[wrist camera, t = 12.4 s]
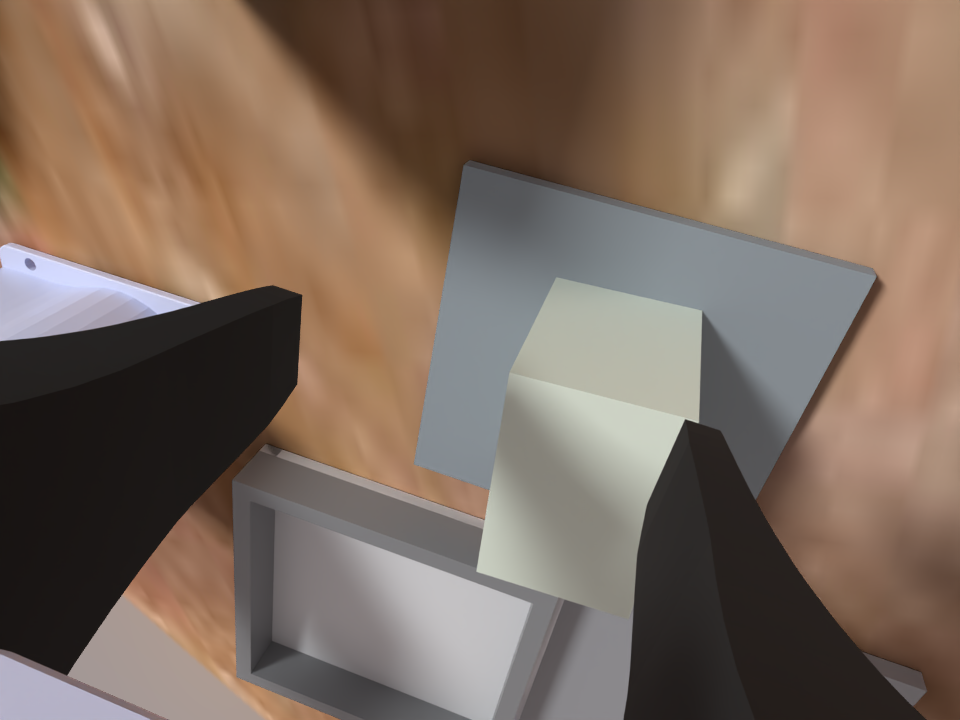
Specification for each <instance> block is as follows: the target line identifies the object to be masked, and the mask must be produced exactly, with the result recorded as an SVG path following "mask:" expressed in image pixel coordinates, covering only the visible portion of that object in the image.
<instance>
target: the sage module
mask: <svg viewBox="0 0 960 720" xmlns="http://www.w3.org/2000/svg"><path fill="white" fill-rule="evenodd" d="M701 335H702V310H697V309H693V308H689V307H684V306H680V305H675V304H671V303H667V302H662V301H658V300H654V299H649V298H645V297H640V296H636V295H632V294H627V293H623V292H618V291H614V290H610V289H605V288H601V287H597V286H592V285H588V284H583V283H579V282H575V281H570V280H566V279H562V278H557V277H556V279H555V281H554V283H553V285H552V287H551V289H550V291H549V293H548V295H547V297H546V299H545V301H544V303H543V305H542V307H541V309H540V312H539V314H538V316H537V318H536V320H535V322H534V324H533V326H532V328H531V330H530V332H529V334H528V336H527V338H526V340H525V342H524V344H523V346H522V348H521V350H520V352H519V354H518V356H517V358H516V360H515V362H514V364H513V366H512V368H511V370H510V372H509V378H508V384H507V390H506V396H505V402H504V408H503V414H502V420H501V426H500V432H499V438H498V444H497V450H496V456H495V462H494V468H493V474H492V480H491V486H490V492H489V498H488V504H487V510H486V516H485V522H484V528H483V534H482V540H481V546H480V552H479V558H478V564H477V570H476V572H479V573H482V574H485V575H489V576H492V577H495V578H498V579H501V580H504V581H508V582H511V583H514V584H517V585H520V586H524V587H527V588H530V589H533V590H536V591H540V592H543V593H546V594H549V595H552V596H555V597H559V598H562V599H565V600H568V601H571V602H575V603H578V604H581V605H584V606H587V607H591V608H594V609H597V610H600V611H603V612H606V613H610V614H613V615H616V616H619V617H622V618H626V619H629V617H630V614H631V611H632V609H633V606H634V592H635V577H636V562H637V552H638V547H639V541H640V536H641V531H642V526H643V521H644V516H645V511H646V506H647V503H648V501H649V499H650V496H651V494H652V492H653V490H654V487H655V485H656V483H657V481H658V479H659V476H660V474H661V472H662V470H663V467H664V465H665V463H666V461H667V458H668V456H669V454H670V452H671V449H672V447H673V445H674V443H675V441H676V438H677V436H678V434H679V432H680V429H681V427H682V425H683V423H684V420H685V419H687V420H690V421H693V422H696V423H699V404H700V370H701Z"/></svg>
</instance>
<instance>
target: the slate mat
mask: <svg viewBox="0 0 960 720" xmlns="http://www.w3.org/2000/svg"><path fill="white" fill-rule="evenodd" d="M556 277H557V278H562V279H566V280H570V281H575V282H579V283H583V284H588V285H592V286H597V287H601V288H605V289H610V290H614V291H618V292H623V293H627V294H632V295H636V296H640V297H645V298H649V299H654V300H658V301H662V302H667V303H671V304H675V305H680V306H684V307H689V308H693V309H697V310H702V335H701V370H700V404H699V424H702V425H705V426H708V427H711V428H714V429H717V430H720V431H721V432H722V434H723V436H724V438H725V440H726V442H727V444H728V446H729V448H730V450H731V452H732V454H733V456H734V459H735V461H736V463H737V465H738V467H739V469H740V471H741V473H742V475H743V477H744V479H745V481H746V483H747V485H748V487H749V489H750V491H751V493H752V494H753V496H754V498H755V500H756V498H757V497H758V495H759V493H760V491H761V489H762V487H763V486H764V484H765V482H766V480H767V478H768V476H769V474H770V473H771V471H772V469H773V467H774V465H775V463H776V462H777V460H778V458H779V456H780V454H781V452H782V450H783V449H784V447H785V445H786V443H787V441H788V439H789V438H790V436H791V434H792V432H793V430H794V428H795V426H796V425H797V423H798V421H799V419H800V417H801V415H802V414H803V412H804V410H805V408H806V406H807V404H808V402H809V401H810V399H811V397H812V395H813V393H814V391H815V390H816V388H817V386H818V384H819V382H820V380H821V378H822V377H823V375H824V373H825V371H826V369H827V367H828V366H829V364H830V362H831V360H832V358H833V356H834V354H835V353H836V351H837V349H838V347H839V345H840V343H841V342H842V340H843V338H844V336H845V334H846V332H847V331H848V329H849V327H850V325H851V323H852V321H853V319H854V318H855V316H856V314H857V312H858V310H859V308H860V307H861V305H862V303H863V301H864V299H865V297H866V295H867V294H868V292H869V290H870V288H871V286H872V284H873V283H874V281H875V279H876V277H877V276H876V274H875V272H874V270H873V268H869V267H866V266H862V265H858V264H854V263H851V262H847V261H843V260H840V259H836V258H832V257H828V256H825V255H821V254H817V253H814V252H810V251H806V250H802V249H799V248H795V247H791V246H787V245H784V244H780V243H776V242H773V241H769V240H765V239H761V238H758V237H754V236H750V235H747V234H743V233H739V232H735V231H732V230H728V229H724V228H720V227H717V226H713V225H709V224H706V223H702V222H698V221H694V220H691V219H687V218H683V217H679V216H676V215H672V214H668V213H665V212H661V211H657V210H653V209H650V208H646V207H642V206H639V205H635V204H631V203H627V202H624V201H620V200H616V199H612V198H609V197H605V196H601V195H598V194H594V193H590V192H586V191H583V190H579V189H575V188H572V187H568V186H564V185H560V184H557V183H553V182H549V181H545V180H542V179H538V178H534V177H531V176H527V175H523V174H519V173H516V172H512V171H508V170H505V169H501V168H497V167H493V166H490V165H486V164H482V163H478V162H475V161H471V160H469V161H468V162H467V163H465V164H464V166H463V172H462V178H461V184H460V190H459V196H458V202H457V208H456V214H455V220H454V226H453V232H452V238H451V244H450V250H449V256H448V262H447V268H446V274H445V280H444V286H443V292H442V298H441V304H440V310H439V316H438V322H437V328H436V334H435V340H434V346H433V353H432V359H431V365H430V371H429V377H428V383H427V389H426V395H425V401H424V407H423V413H422V419H421V425H420V431H419V437H418V443H417V449H416V455H415V461H414V464H415V465H417V466H420V467H423V468H426V469H429V470H432V471H435V472H438V473H441V474H444V475H447V476H450V477H453V478H456V479H458V480H461V481H464V482H467V483H470V484H473V485H476V486H479V487H482V488H485V489H488V490H490V486H491V480H492V474H493V468H494V462H495V456H496V450H497V444H498V438H499V432H500V426H501V420H502V414H503V408H504V402H505V396H506V390H507V384H508V378H509V372H510V370H511V368H512V366H513V364H514V362H515V360H516V358H517V356H518V354H519V352H520V350H521V348H522V346H523V344H524V342H525V340H526V338H527V336H528V334H529V332H530V330H531V328H532V326H533V324H534V322H535V320H536V318H537V316H538V314H539V312H540V309H541V307H542V305H543V303H544V301H545V299H546V297H547V295H548V293H549V291H550V289H551V287H552V285H553V283H554V281H555V279H556Z"/></svg>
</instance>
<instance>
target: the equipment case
mask: <svg viewBox="0 0 960 720" xmlns="http://www.w3.org/2000/svg"><path fill="white" fill-rule="evenodd" d="M232 497H233V540H234V583H235V626H236V670H237V677H238V678H240V679H242V680H245V681H247V682H250V683H252V684H255V685H257V686H260V687H262V688H265V689H267V690H270V691H272V692H274V693H277V694H279V695H282V696H284V697H287V698H289V699H292V700H294V701H297V702H299V703H302V704H304V705H306V706H309V707H311V708H314V709H316V710H319V711H321V712H324V713H326V714H329V715H331V716H333V717H336V718H338V719H341V720H623V718H624V712H625V706H626V700H627V693H628V684H629V674H630V660H631V643H632V626H633V609H634V606H633V609H632V611H631V614H630V617H629V619H626V618H622V617H619V616H616V615H613V614H610V613H606V612H603V611H600V610H597V609H594V608H591V607H587V606H584V605H581V604H578V603H575V602H571V601H568V600H565V599H562V598H559V597H555V596H552V595H549V594H546V593H543V592H540V591H536V590H533V589H530V588H527V587H524V586H520V585H517V584H514V583H511V582H508V581H504V580H501V579H498V578H495V577H492V576H489V575H485V574H482V573H479V572H476V570H477V564H478V558H479V552H480V546H481V540H482V534H483V528H484V522H485V520H483V519H480V518H477V517H474V516H471V515H469V514H466V513H463V512H460V511H457V510H454V509H451V508H448V507H446V506H443V505H440V504H437V503H434V502H431V501H428V500H426V499H423V498H420V497H417V496H414V495H411V494H408V493H405V492H403V491H400V490H397V489H394V488H391V487H388V486H385V485H383V484H380V483H377V482H374V481H371V480H368V479H365V478H362V477H360V476H357V475H354V474H351V473H348V472H345V471H342V470H339V469H337V468H334V467H331V466H328V465H325V464H322V463H319V462H317V461H314V460H311V459H308V458H305V457H302V456H299V455H296V454H294V453H291V452H288V451H285V450H282V449H279V448H276V447H274V446H271V445H268V444H265V445H264V446H263V447H262V448H261V449H260V450H259V452H258V453H257V454H256V455H255V456H254V457H253V458H252V459H251V460H250V461H249V462H248V463H247V464H246V466H245V467H244V468H243V469H242V470H241V471H240V472H239V473H238V474H237V475H236V476H235V477H234V479H233V480H232ZM863 654H864V655H865V656H866V657H867V658H868V659H869V660H870V661H871V663H872V664H873V665H874V666H875V667H876V668H877V669H878V671H879V672H880V673H881V674H882V675H883V676H884V677H885V678H886V679H887V680H888V681H889V682H890V683H891V685H892V686H893V687H894V688H895V689H896V690H897V691H898V692H899V693H900V694H901V695H902V696H903V697H904V698H905V699H906V700H907V701H908V702H909V703H910V704H911V705H912V706H914V705H915V704H916V703H917V702H918V701H919V699H920V698H921V697H922V696H923V695H924V694H925V693H926V692H927V690H926V686H925V683H924V679H923V676H922V673H921V672H919V671H916V670H913V669H910V668H907V667H905V666H902V665H899V664H896V663H893V662H890V661H887V660H884V659H882V658H879V657H876V656H873V655H870V654H867V653H864V652H863Z"/></svg>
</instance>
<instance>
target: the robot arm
mask: <svg viewBox="0 0 960 720" xmlns="http://www.w3.org/2000/svg"><path fill="white" fill-rule="evenodd" d="M0 258H1V262H2V267H3V268H0V720H168V719H166V718H163V717H161V716H159V715H156V714H154V713H152V712H150V711H147V710H145V709H143V708H140V707H138V706H136V705H133V704H131V703H129V702H126V701H124V700H122V699H119V698H117V697H115V696H113V695H110V694H108V693H106V692H103V691H101V690H99V689H96V688H94V687H91V686H89V685H87V684H85V683H82V682H80V681H78V680H76V679H73V678H71V677H68V676H67V675H68V673H69V672H70V670H71V668H72V667H73V665H74V664H75V662H76V661H77V659H78V658H79V656H80V655H81V653H82V652H83V650H84V649H85V647H86V646H87V645H88V643H89V642H90V640H91V639H92V637H93V636H94V634H95V633H96V631H97V630H98V628H99V627H100V625H101V624H102V622H103V621H104V620H105V618H106V616H107V615H108V614H109V612H110V611H111V609H112V608H113V606H114V605H115V604H116V602H117V601H118V599H119V598H120V597H121V595H122V594H123V593H124V591H125V590H126V589H127V587H128V586H129V584H130V583H131V582H132V580H133V579H134V578H135V576H136V575H137V573H138V572H139V571H140V569H141V568H142V567H143V565H144V564H145V563H146V561H147V560H148V559H149V557H150V556H151V555H152V553H153V552H154V551H155V550H156V548H157V547H158V546H159V544H160V543H161V542H162V541H163V539H164V538H165V537H166V535H167V534H168V533H169V531H170V530H171V529H172V528H173V526H174V525H175V524H176V522H177V521H178V520H179V519H180V518H181V517H182V516H183V514H184V513H185V512H186V511H187V510H188V509H189V508H190V507H191V505H192V504H193V503H194V502H195V501H196V500H197V499H198V498H199V497H200V496H201V495H202V494H203V493H204V492H205V491H206V490H207V489H208V488H209V487H210V486H211V485H212V483H213V482H214V481H215V480H216V479H217V478H218V477H219V476H220V475H221V474H222V473H223V472H224V471H225V470H226V469H227V468H228V467H229V466H230V465H231V464H232V463H233V462H234V461H235V460H236V459H237V458H238V457H239V456H240V454H241V453H242V452H243V451H244V450H245V449H246V448H247V447H248V446H249V445H250V444H251V443H252V442H253V441H254V440H255V439H256V438H257V437H258V435H259V434H260V433H261V432H262V431H263V430H264V429H265V428H266V427H267V426H268V425H269V424H270V422H271V421H272V419H273V418H274V417H275V415H276V414H277V413H278V411H279V410H280V409H281V407H282V406H283V404H284V403H285V401H286V400H287V398H288V397H289V396H290V394H291V393H292V391H293V390H294V388H295V387H296V385H297V378H298V361H299V343H300V325H301V307H302V295H301V294H298V293H295V292H292V291H289V290H285V289H282V288H279V287H276V286H273V285H272V286H266V287H261V288H256V289H252V290H248V291H244V292H240V293H236V294H233V295H229V296H225V297H222V298H218V299H214V300H211V301H207V302H203V303H199V302H196V301H193V300H190V299H186V298H183V297H180V296H177V295H174V294H171V293H168V292H165V291H162V290H158V289H155V288H152V287H149V286H146V285H143V284H140V283H137V282H133V281H130V280H127V279H124V278H121V277H118V276H115V275H112V274H108V273H105V272H102V271H99V270H96V269H93V268H90V267H87V266H83V265H80V264H77V263H74V262H71V261H68V260H65V259H62V258H58V257H55V256H52V255H49V254H46V253H43V252H40V251H37V250H33V249H30V248H27V247H24V246H21V245H18V244H15V243H9V244H6V245H4V246H2V247H1V248H0ZM623 720H926V719H925V718H924V717H923V716H922V715H921V714H920V713H919V712H918V711H917V710H916V709H915V708H914V707H913V706H912V705H911V704H910V703H909V702H908V701H907V700H906V699H905V698H904V697H903V696H902V695H901V694H900V693H899V692H898V691H897V690H896V689H895V688H894V687H893V686H892V685H891V683H890V682H889V681H888V680H887V679H886V678H885V677H884V676H883V675H882V674H881V673H880V672H879V671H878V669H877V668H876V667H875V666H874V665H873V664H872V663H871V661H870V660H869V659H868V658H867V657H866V656H865V655H864V654H863V652H862V651H861V650H860V649H859V648H858V647H857V646H856V645H855V643H854V642H853V641H852V640H851V639H850V638H849V636H848V635H847V634H846V633H845V632H844V630H843V629H842V628H841V627H840V626H839V624H838V623H837V622H836V621H835V619H834V618H833V617H832V616H831V614H830V613H829V612H828V610H827V609H826V608H825V606H824V605H823V604H822V602H821V601H820V600H819V598H818V597H817V596H816V594H815V593H814V592H813V590H812V589H811V588H810V586H809V585H808V584H807V582H806V581H805V580H804V578H803V577H802V575H801V574H800V572H799V571H798V570H797V568H796V567H795V565H794V564H793V562H792V560H791V559H790V557H789V556H788V554H787V553H786V551H785V549H784V548H783V546H782V545H781V543H780V542H779V540H778V538H777V537H776V535H775V534H774V532H773V530H772V528H771V527H770V525H769V523H768V522H767V520H766V518H765V516H764V515H763V513H762V511H761V509H760V507H759V506H758V504H757V502H756V500H755V498H754V496H753V494H752V493H751V491H750V489H749V487H748V485H747V483H746V481H745V479H744V477H743V475H742V473H741V471H740V469H739V467H738V465H737V463H736V461H735V459H734V456H733V454H732V452H731V450H730V448H729V446H728V444H727V442H726V440H725V438H724V436H723V434H722V432H721V431H720V430H717V429H714V428H711V427H708V426H705V425H702V424H699V423H696V422H693V421H690V420H687V419H685V420H684V423H683V425H682V427H681V429H680V432H679V434H678V436H677V438H676V441H675V443H674V445H673V447H672V449H671V452H670V454H669V456H668V458H667V461H666V463H665V465H664V467H663V470H662V472H661V474H660V476H659V479H658V481H657V483H656V485H655V487H654V490H653V492H652V494H651V496H650V499H649V501H648V503H647V506H646V511H645V516H644V521H643V526H642V531H641V536H640V541H639V547H638V552H637V562H636V577H635V592H634V609H633V626H632V643H631V660H630V674H629V684H628V693H627V700H626V706H625V712H624V718H623Z"/></svg>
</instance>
